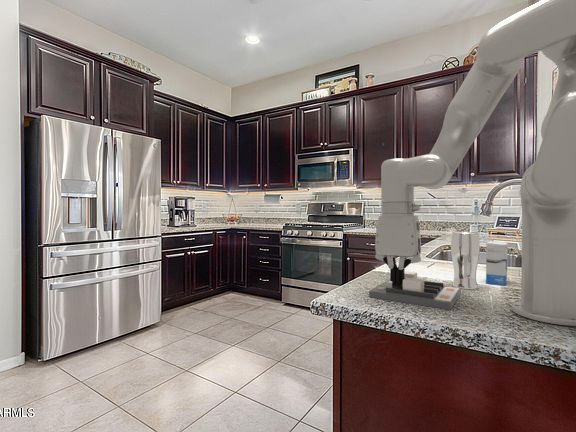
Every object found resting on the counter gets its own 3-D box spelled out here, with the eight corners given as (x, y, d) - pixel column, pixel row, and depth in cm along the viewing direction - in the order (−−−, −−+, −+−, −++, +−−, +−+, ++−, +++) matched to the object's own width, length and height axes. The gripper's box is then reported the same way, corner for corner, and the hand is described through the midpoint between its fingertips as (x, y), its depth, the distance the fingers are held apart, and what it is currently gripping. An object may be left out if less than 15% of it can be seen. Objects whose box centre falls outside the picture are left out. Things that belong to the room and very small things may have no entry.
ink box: (506, 286, 89) (506, 244, 89) (485, 283, 92) (485, 242, 92) (507, 280, 96) (508, 241, 96) (488, 278, 99) (488, 240, 99)
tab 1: (417, 283, 85) (417, 272, 85) (413, 286, 82) (413, 274, 82) (401, 281, 87) (401, 270, 87) (397, 284, 84) (397, 272, 84)
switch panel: (460, 293, 81) (460, 283, 81) (450, 309, 68) (450, 298, 68) (389, 284, 91) (389, 275, 91) (369, 297, 78) (369, 286, 78)
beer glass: (472, 284, 92) (472, 232, 91) (484, 290, 85) (485, 233, 84) (446, 283, 92) (447, 231, 92) (457, 289, 85) (457, 233, 85)
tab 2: (424, 291, 76) (424, 279, 76) (420, 295, 74) (420, 282, 73) (406, 289, 79) (406, 277, 79) (402, 292, 76) (402, 280, 76)
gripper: (433, 209, 77) (433, 285, 77) (373, 210, 85) (373, 278, 86) (426, 209, 71) (426, 292, 71) (362, 210, 79) (362, 283, 80)
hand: (397, 284), depth 78 cm, fingers closed
